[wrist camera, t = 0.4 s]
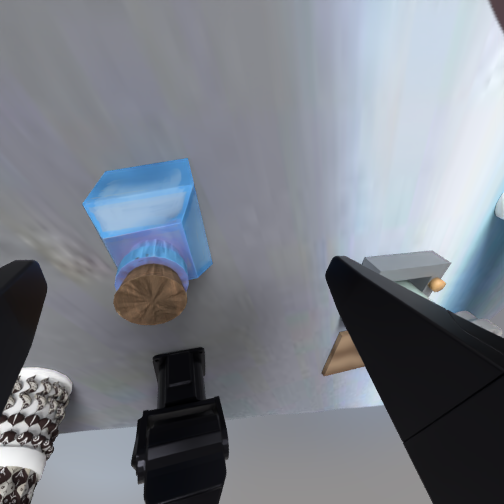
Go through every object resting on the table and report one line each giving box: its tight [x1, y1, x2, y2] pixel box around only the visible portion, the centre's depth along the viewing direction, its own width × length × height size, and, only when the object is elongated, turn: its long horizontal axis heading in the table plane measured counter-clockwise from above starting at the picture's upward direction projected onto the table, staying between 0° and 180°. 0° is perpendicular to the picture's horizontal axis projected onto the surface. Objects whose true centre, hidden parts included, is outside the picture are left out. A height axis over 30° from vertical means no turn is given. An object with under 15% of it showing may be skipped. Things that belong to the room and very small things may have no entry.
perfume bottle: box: [83, 158, 213, 325], centre depth 16 cm, size 6×6×12 cm
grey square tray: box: [340, 251, 451, 320], centre depth 35 cm, size 12×12×4 cm
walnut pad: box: [322, 331, 365, 376], centre depth 45 cm, size 12×12×1 cm
